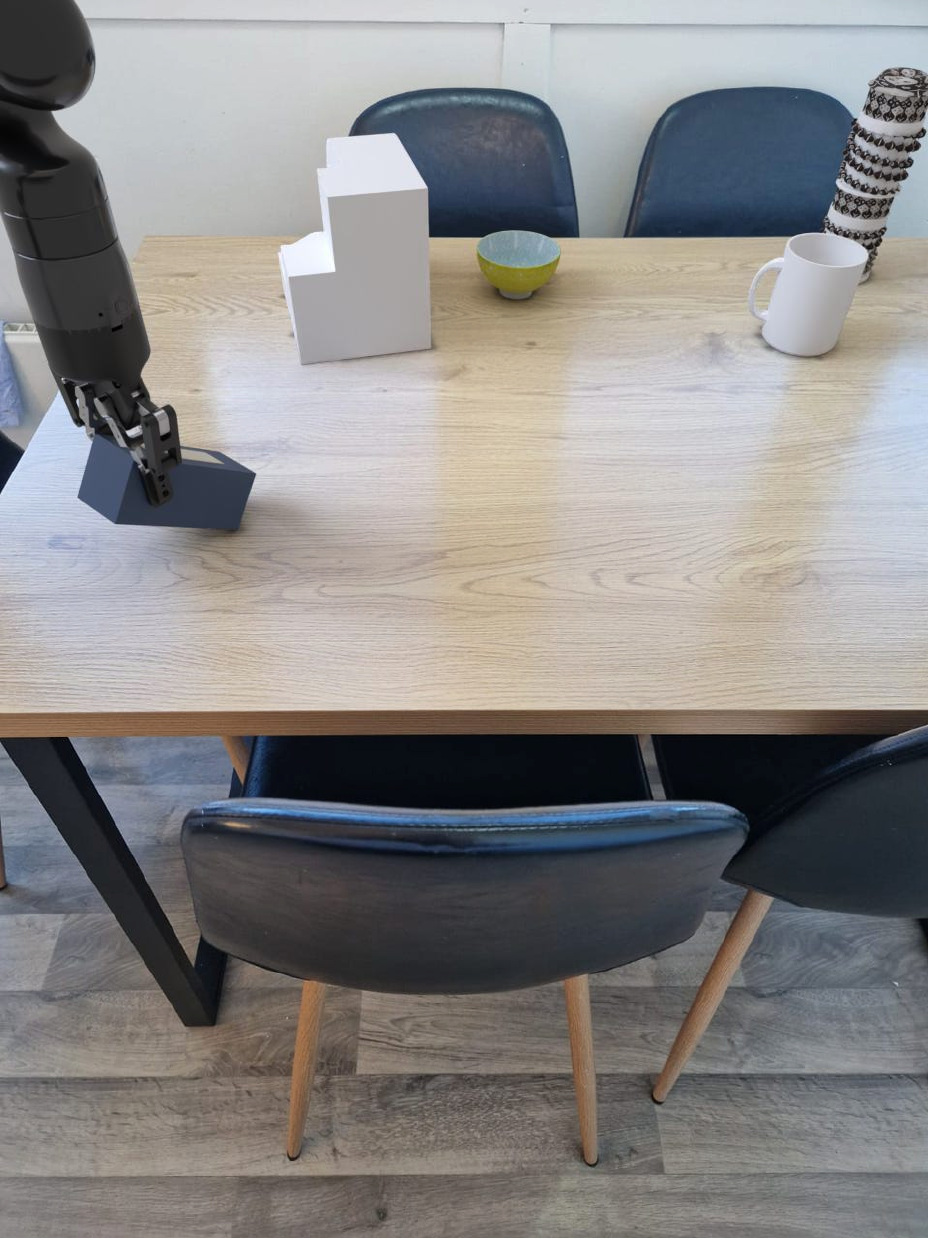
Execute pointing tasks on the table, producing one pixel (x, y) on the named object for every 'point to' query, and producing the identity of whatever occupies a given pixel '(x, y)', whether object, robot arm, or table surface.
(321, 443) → the table surface
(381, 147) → the block
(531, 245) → the bowl
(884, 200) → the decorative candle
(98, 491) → the rectangular box
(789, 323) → the mug
